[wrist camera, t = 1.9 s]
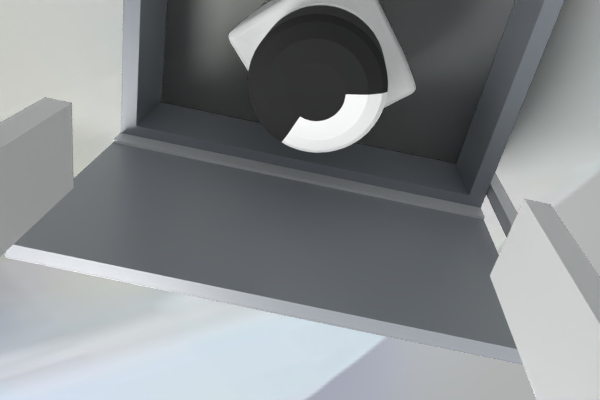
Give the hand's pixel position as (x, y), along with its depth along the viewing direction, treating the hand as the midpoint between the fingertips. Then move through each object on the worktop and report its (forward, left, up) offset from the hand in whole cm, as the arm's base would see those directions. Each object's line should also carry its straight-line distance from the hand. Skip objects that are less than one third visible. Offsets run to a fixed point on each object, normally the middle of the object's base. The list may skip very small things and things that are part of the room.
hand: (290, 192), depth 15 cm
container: (0, 0, -23) cm, 23 cm away
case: (0, 0, -23) cm, 23 cm away
